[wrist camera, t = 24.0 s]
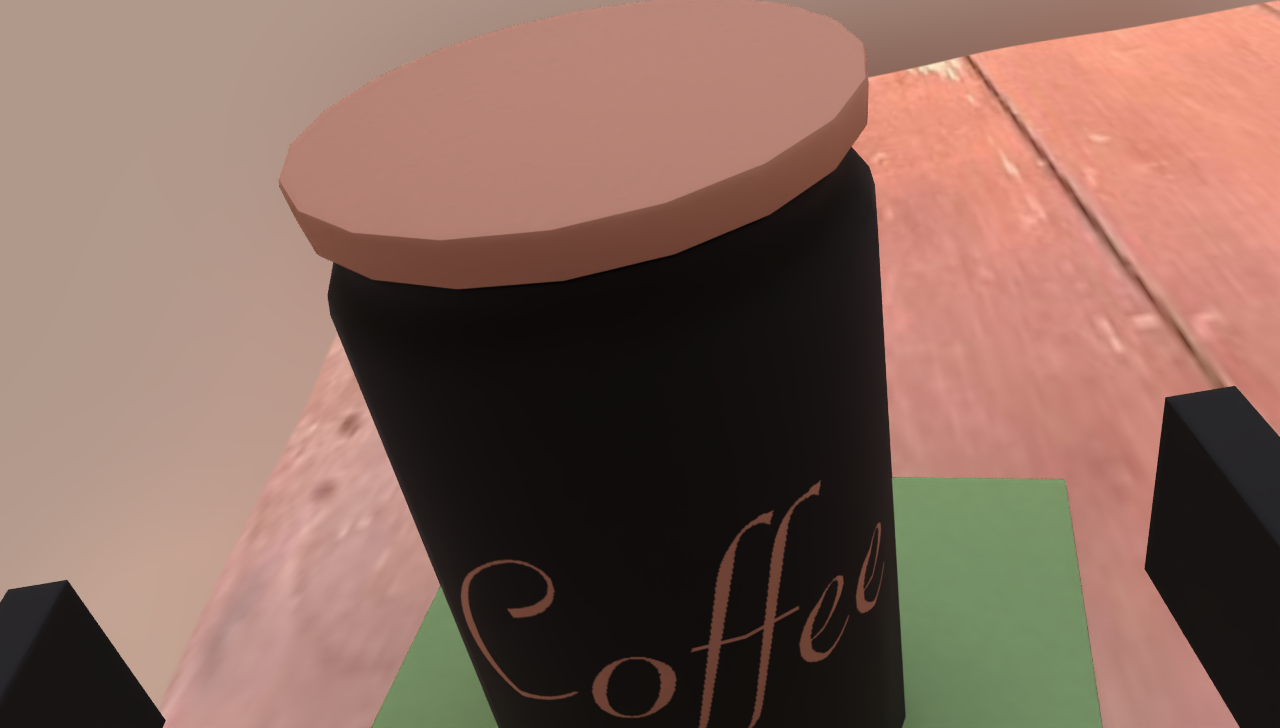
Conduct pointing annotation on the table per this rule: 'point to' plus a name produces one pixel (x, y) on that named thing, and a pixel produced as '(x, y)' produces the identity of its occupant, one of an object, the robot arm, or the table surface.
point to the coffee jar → (630, 358)
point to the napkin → (929, 618)
